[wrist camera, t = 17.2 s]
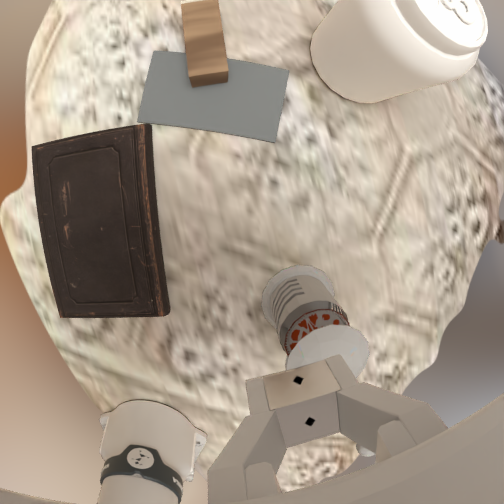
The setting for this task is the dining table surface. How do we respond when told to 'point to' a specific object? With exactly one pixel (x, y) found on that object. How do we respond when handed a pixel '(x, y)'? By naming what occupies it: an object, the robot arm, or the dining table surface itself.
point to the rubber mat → (215, 98)
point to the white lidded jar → (396, 45)
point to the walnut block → (204, 42)
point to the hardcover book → (101, 223)
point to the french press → (312, 322)
